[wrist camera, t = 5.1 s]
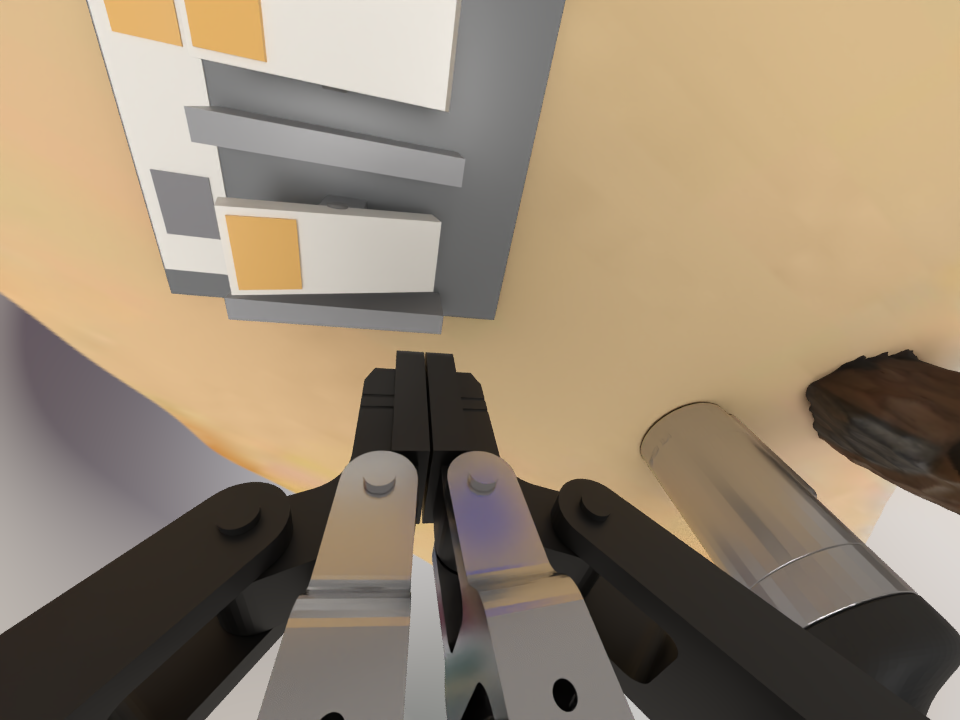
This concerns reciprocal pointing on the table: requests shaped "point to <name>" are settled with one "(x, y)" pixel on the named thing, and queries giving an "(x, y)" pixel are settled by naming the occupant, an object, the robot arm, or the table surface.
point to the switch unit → (333, 155)
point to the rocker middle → (335, 43)
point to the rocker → (325, 248)
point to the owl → (895, 422)
